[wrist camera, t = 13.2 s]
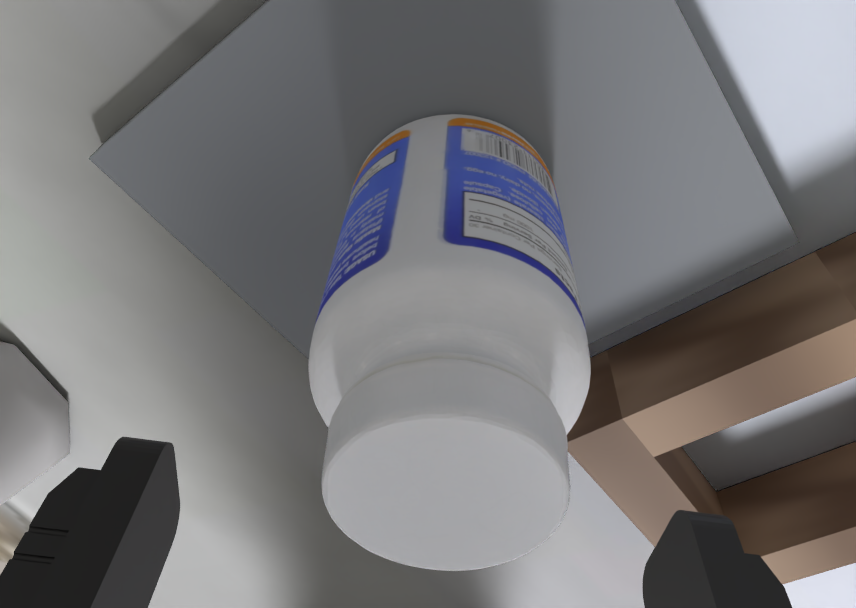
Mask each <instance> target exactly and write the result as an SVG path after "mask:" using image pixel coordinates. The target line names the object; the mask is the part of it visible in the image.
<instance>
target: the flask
mask: <svg viewBox="0 0 856 608" xmlns="http://www.w3.org/2000/svg"><path fill="white" fill-rule="evenodd" d="M68 454H70V437H69V403H68V402H67V401H66V400H65V399H64V397H63V396H62V395H61V394H60V393H59V392H58V391H57V390H56V389H55V388H54V387H53V386H52V385H51V383H50V382H49V381H48V380H47V379H46V378H45V377H44V376H43V375H42V374H41V373H40V372H39V371H38V370H37V368H36V367H35V366H34V365H33V364H32V363H31V362H30V361H29V360H28V359H27V358H26V357H25V356H24V354H23V353H22V352H21V351H20V350H19V349H18V348H17V347H16V346H15V345H13V344H9V343H5V342H0V505H2V504H3V503H4V502H6V501H7V500H9V499H10V498H11V497H13V496H14V495H15V494H17V493H18V492H19V491H21V490H22V489H24V488H25V487H26V486H28V485H29V484H30V483H32V482H33V481H34V480H36V479H37V478H38V477H40V476H41V475H43V474H44V473H45V472H47V471H48V470H49V469H51V468H52V467H53V466H54V465H56V464H57V463H58V462H60V461H61V460H62V459H63V458H65V457H66V456H67V455H68Z"/></svg>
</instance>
